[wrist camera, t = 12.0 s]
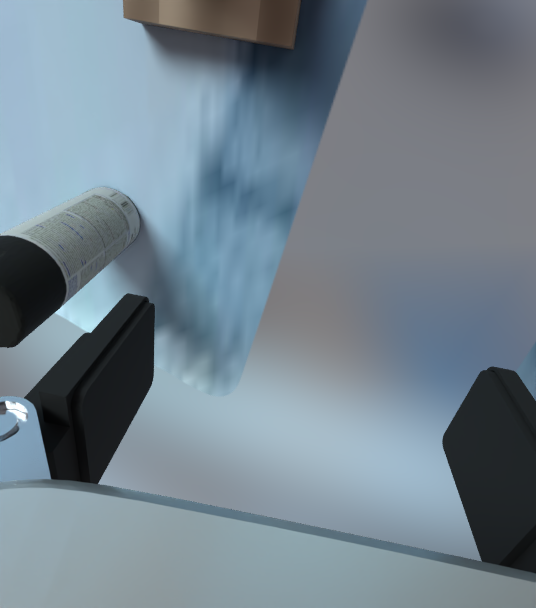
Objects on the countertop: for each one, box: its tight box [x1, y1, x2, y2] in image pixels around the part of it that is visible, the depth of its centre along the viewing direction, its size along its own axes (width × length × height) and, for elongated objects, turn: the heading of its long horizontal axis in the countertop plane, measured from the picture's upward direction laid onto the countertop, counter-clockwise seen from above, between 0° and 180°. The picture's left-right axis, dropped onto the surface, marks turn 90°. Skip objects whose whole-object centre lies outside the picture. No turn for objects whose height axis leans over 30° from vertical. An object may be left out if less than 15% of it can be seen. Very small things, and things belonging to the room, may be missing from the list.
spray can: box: [0, 187, 140, 348], centre depth 33 cm, size 7×7×20 cm
